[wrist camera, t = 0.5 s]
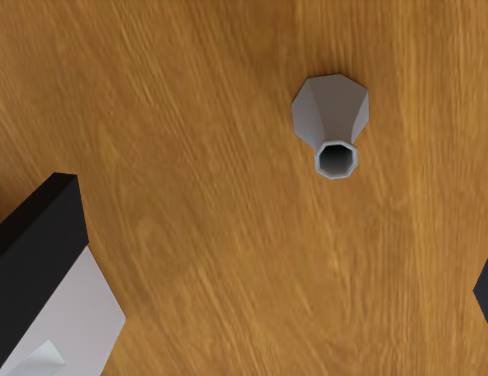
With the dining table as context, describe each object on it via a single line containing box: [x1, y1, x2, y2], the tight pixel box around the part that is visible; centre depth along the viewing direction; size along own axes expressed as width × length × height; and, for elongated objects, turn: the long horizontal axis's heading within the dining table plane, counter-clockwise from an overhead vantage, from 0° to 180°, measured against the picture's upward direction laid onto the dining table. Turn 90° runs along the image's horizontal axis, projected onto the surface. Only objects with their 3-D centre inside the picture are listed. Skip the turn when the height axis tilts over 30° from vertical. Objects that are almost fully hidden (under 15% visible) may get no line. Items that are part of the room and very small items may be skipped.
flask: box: [291, 74, 369, 179], centre depth 35 cm, size 7×7×10 cm
